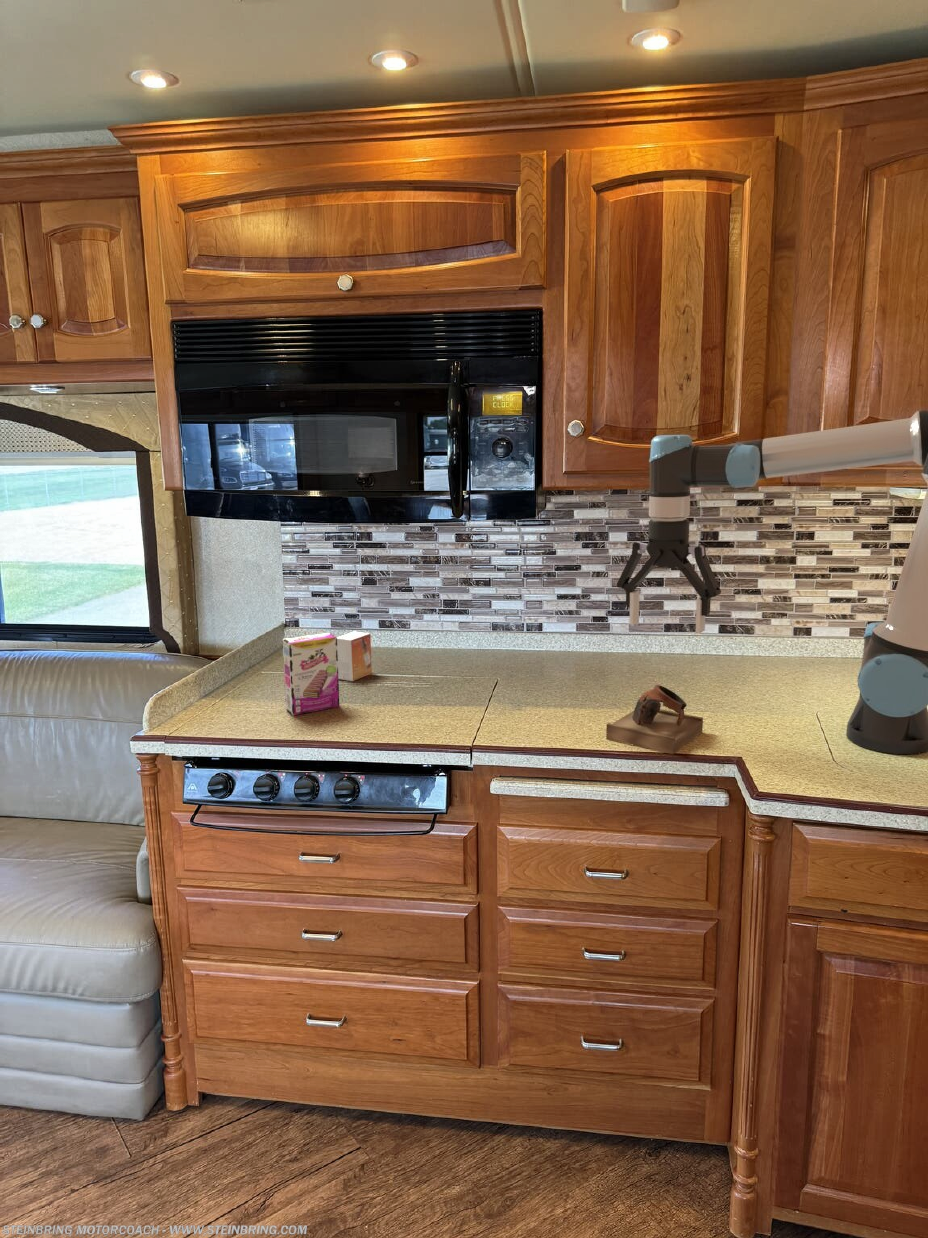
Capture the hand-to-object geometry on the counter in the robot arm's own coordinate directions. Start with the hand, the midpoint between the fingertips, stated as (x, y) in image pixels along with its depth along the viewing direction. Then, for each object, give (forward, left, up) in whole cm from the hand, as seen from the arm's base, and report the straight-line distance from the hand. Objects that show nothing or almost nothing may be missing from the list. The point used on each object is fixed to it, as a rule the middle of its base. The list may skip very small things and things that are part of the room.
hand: (666, 627), depth 170 cm
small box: (+80, +6, -22) cm, 83 cm away
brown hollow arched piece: (+1, +2, -19) cm, 19 cm away
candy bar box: (+70, +29, -22) cm, 79 cm away
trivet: (+1, +2, -22) cm, 22 cm away
